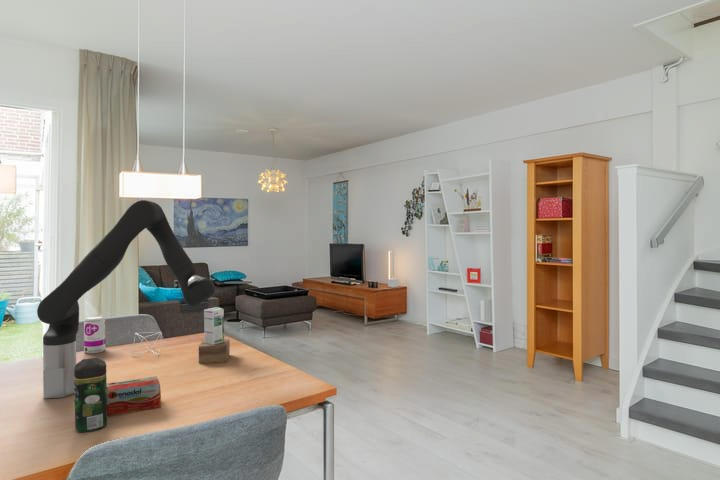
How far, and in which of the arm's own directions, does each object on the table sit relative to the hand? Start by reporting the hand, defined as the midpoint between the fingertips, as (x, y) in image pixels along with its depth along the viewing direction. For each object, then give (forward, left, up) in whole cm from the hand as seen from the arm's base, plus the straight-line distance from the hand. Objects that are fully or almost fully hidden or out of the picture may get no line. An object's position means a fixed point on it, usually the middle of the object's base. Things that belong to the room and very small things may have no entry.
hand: (192, 281), depth 183 cm
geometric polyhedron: (+19, +23, -34) cm, 45 cm away
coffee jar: (-54, +18, -34) cm, 66 cm away
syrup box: (+7, -7, -27) cm, 29 cm away
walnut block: (+7, -7, -34) cm, 36 cm away
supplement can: (+27, +47, -34) cm, 64 cm away
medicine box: (-42, +10, -34) cm, 55 cm away
